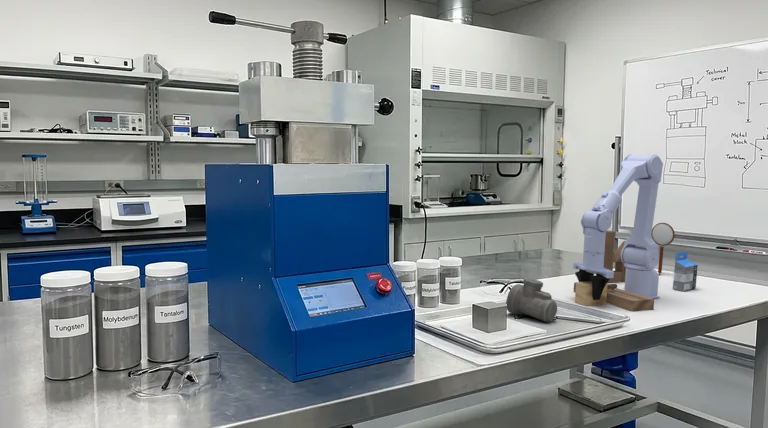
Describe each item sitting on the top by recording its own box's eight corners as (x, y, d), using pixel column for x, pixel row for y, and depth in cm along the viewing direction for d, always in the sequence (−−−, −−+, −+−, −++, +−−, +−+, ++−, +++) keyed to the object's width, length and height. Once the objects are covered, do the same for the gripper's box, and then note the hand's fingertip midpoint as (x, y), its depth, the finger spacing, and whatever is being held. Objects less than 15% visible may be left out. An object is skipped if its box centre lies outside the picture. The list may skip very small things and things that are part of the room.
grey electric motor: (501, 313, 148) (509, 275, 147) (518, 310, 154) (526, 274, 152) (540, 329, 139) (549, 289, 138) (557, 326, 145) (565, 288, 144)
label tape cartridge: (683, 292, 184) (687, 254, 182) (671, 289, 187) (674, 253, 186) (696, 289, 189) (699, 252, 188) (684, 286, 192) (687, 251, 191)
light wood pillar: (609, 299, 169) (610, 280, 169) (619, 302, 166) (620, 282, 165) (574, 302, 165) (576, 282, 164) (584, 305, 161) (585, 285, 160)
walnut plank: (593, 290, 181) (594, 281, 181) (653, 309, 159) (654, 298, 159) (573, 291, 178) (574, 282, 178) (631, 311, 156) (632, 300, 156)
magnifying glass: (672, 277, 209) (676, 223, 207) (669, 277, 208) (674, 224, 206) (649, 273, 216) (653, 221, 214) (647, 273, 215) (651, 221, 213)
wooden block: (629, 281, 198) (633, 231, 196) (606, 283, 193) (609, 231, 192) (621, 279, 201) (624, 229, 199) (598, 281, 197) (601, 230, 195)
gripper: (566, 248, 168) (563, 292, 169) (601, 256, 155) (597, 304, 156) (585, 247, 171) (582, 291, 172) (620, 255, 157) (617, 303, 159)
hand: (590, 297), depth 164 cm, fingers closed on light wood pillar, 4 cm apart
